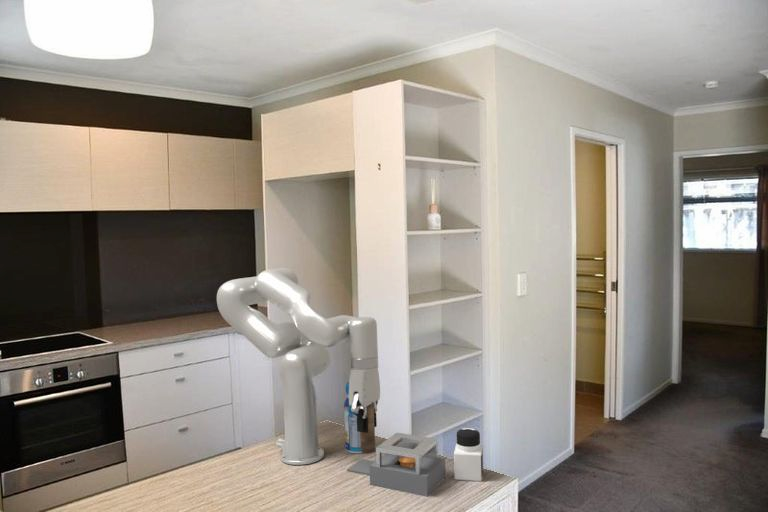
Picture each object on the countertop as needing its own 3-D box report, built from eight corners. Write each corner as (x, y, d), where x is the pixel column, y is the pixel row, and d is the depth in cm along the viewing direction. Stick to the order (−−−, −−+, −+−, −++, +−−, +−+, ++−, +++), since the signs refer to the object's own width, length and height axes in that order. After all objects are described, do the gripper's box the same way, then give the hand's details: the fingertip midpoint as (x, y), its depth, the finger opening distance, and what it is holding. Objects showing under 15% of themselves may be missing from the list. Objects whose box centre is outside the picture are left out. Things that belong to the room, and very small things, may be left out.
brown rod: (358, 452, 160) (355, 394, 159) (365, 447, 164) (363, 390, 163) (371, 454, 158) (368, 395, 158) (378, 449, 162) (375, 392, 161)
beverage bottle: (359, 456, 169) (357, 388, 168) (338, 450, 175) (336, 383, 174) (378, 448, 176) (376, 382, 175) (357, 442, 181) (356, 378, 180)
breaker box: (370, 484, 151) (369, 465, 150) (391, 467, 161) (390, 449, 161) (427, 496, 143) (426, 476, 143) (445, 477, 154) (445, 458, 153)
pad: (346, 470, 160) (346, 469, 160) (361, 460, 167) (361, 458, 167) (372, 475, 156) (372, 474, 156) (386, 464, 163) (386, 463, 163)
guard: (376, 466, 149) (375, 447, 149) (397, 450, 160) (396, 432, 160) (419, 475, 144) (419, 454, 144) (438, 457, 154) (437, 438, 154)
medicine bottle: (482, 481, 151) (481, 435, 150) (454, 480, 152) (453, 434, 152) (483, 470, 158) (482, 426, 157) (456, 468, 159) (455, 425, 159)
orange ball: (395, 481, 151) (395, 460, 151) (403, 474, 155) (403, 454, 155) (412, 484, 149) (412, 463, 149) (420, 477, 153) (420, 456, 153)
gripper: (367, 355, 169) (369, 418, 170) (336, 368, 154) (339, 437, 155) (390, 357, 166) (392, 421, 166) (361, 370, 151) (363, 441, 151)
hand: (367, 428), depth 161 cm, fingers closed on brown rod, 4 cm apart
